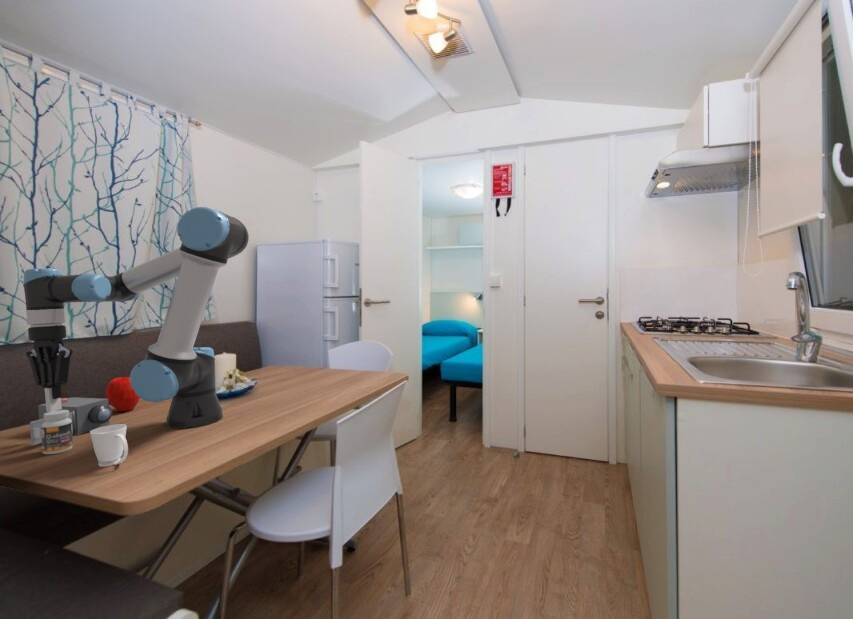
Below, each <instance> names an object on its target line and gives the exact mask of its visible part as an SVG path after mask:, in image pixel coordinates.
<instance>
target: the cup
mask: <svg viewBox="0 0 853 619" xmlns="http://www.w3.org/2000/svg"><path fill="white" fill-rule="evenodd" d="M127 427H128V426H127V425H126V423H123V424H122V423H121V424H119V423H118V424H117V423H116V424H115V423H113V424H109V425H107V426H103V427H99V428H96V429H94V430H91V431H89V434H90V438H91V443H92V445H93V451H94V453H95V456H96V458H97V462H98V463H97V464H98V467H109V466H113V465H114V466H117V465H120V464H121V463H123V462H124V461H125V460H126V458H127V457H128V455H129V445H128V441H127V439H126V435H127Z"/></svg>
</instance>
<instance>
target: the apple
mask: <svg viewBox="0 0 853 619" xmlns="http://www.w3.org/2000/svg"><path fill="white" fill-rule="evenodd" d="M105 399H108V404H109V405H111V407H113V408H114V409H115V410H116V411H118V412H130V411H132V410H134V409H135V407H136V406H137V404H138V403H139V400H140V399H141V398H140V397H139V396H138V395H136V393H135V391H134V389H132V387H131V384H130V376H126V377H125V376H124V375H123V376H122V377H115V378H114V379H111V380H110V381H109V382H108V384H107V386H106V390H105Z"/></svg>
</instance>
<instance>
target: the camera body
mask: <svg viewBox="0 0 853 619" xmlns="http://www.w3.org/2000/svg"><path fill="white" fill-rule="evenodd" d="M109 405H110V403H109V402H108V399H107V398H97V397H96V398H95V397H74V396H73V397H63V398H62V397H61V406H62V409H60V410H69V412H70V411H72V410H75V428H76V433H74V434H72V436H73V435H75V436H78V435H82V434H85V433H90V431H91V430H94V429H96V428H99V427H103V426H108V425H110V420H111V418H112V415H113V409H112V408H111V406H109ZM56 411H57V410H56ZM45 413H48V412H46V403H42V404H39V405H38V420H40V419H44V414H45Z"/></svg>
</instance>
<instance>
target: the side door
mask: <svg viewBox="0 0 853 619" xmlns="http://www.w3.org/2000/svg"><path fill="white" fill-rule="evenodd" d="M68 418H69V419H71V421H72V434H74V433H76V428H75V410H72V411H70V412H69V416H68ZM44 422H45V420H44V419H40V420H39V419H37V420H33V421H30V422H29V432H30V445H31V446H35V445H39V444H42V432H41V426H42V424H43V423H44Z"/></svg>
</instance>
